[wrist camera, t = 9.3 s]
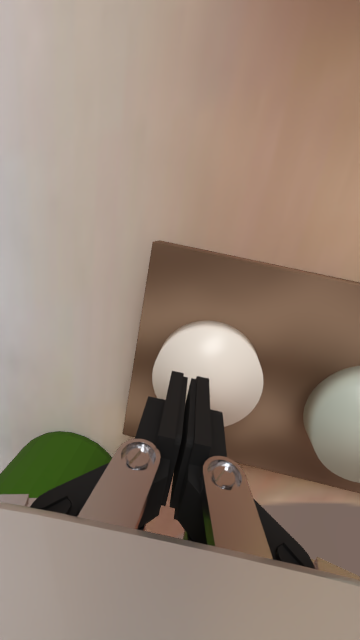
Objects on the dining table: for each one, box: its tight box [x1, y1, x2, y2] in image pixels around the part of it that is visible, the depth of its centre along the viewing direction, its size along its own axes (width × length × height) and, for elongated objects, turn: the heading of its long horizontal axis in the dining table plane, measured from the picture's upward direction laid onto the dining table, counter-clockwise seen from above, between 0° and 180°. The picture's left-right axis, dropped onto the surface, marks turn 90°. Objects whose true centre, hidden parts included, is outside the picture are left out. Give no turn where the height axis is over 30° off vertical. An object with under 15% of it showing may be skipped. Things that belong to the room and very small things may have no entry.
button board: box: [123, 241, 360, 493], centre depth 17 cm, size 13×26×2 cm, turn 79°
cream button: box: [152, 321, 263, 427], centre depth 16 cm, size 6×6×2 cm
